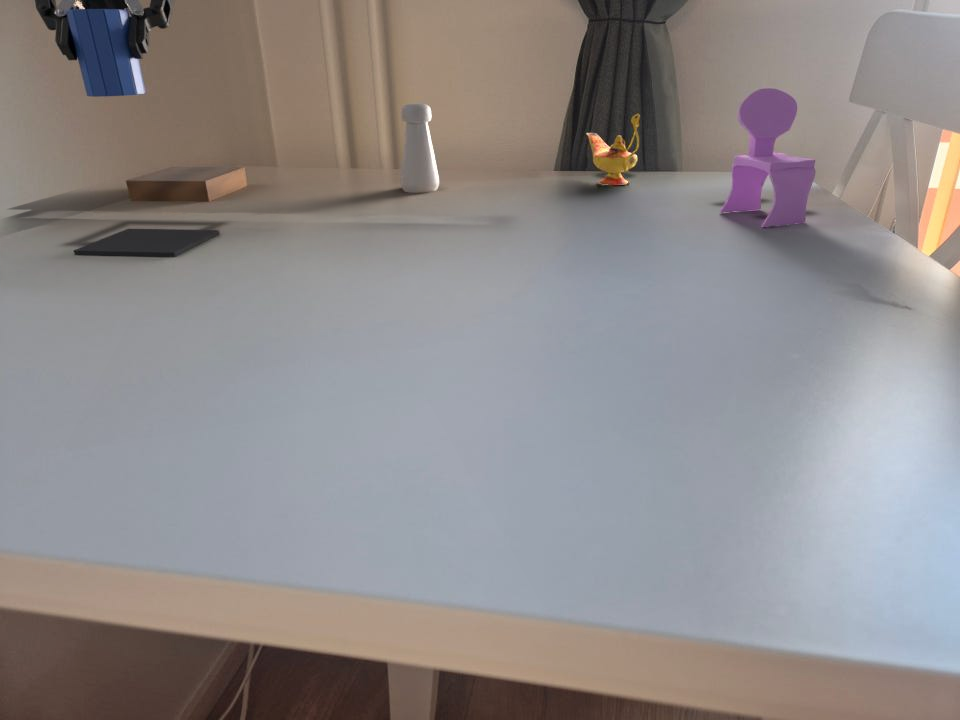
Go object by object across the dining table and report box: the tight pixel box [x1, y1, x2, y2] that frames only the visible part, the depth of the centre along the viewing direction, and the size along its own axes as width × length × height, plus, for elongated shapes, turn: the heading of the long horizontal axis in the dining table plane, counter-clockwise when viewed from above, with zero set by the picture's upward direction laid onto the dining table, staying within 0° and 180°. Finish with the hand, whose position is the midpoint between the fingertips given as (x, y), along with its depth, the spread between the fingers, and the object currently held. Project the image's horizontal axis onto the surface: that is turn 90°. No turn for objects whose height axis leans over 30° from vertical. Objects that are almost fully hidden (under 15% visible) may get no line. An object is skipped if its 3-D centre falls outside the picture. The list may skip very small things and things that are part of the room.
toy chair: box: [719, 87, 817, 228], centre depth 81 cm, size 8×9×15 cm
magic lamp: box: [585, 112, 641, 185], centre depth 107 cm, size 7×18×11 cm, turn 15°
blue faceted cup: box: [66, 9, 147, 98], centre depth 70 cm, size 6×6×8 cm
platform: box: [125, 166, 248, 203], centre depth 101 cm, size 12×12×4 cm
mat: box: [73, 228, 220, 258], centre depth 79 cm, size 12×10×1 cm
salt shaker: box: [399, 103, 440, 194], centre depth 98 cm, size 6×6×13 cm
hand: (102, 52), depth 69 cm, fingers closed on blue faceted cup, 5 cm apart
